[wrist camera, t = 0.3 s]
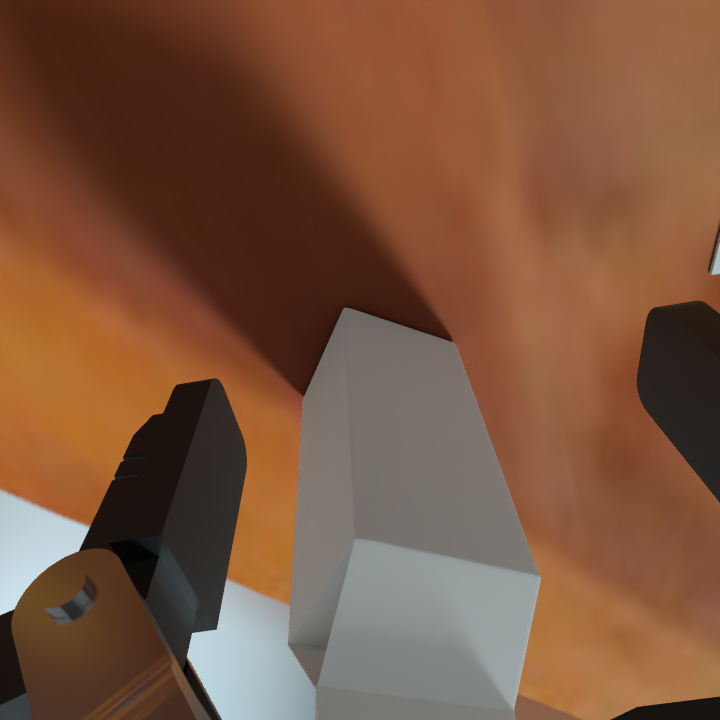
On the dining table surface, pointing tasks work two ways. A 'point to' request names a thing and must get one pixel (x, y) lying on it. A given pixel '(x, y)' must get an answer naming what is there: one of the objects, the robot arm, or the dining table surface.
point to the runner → (716, 259)
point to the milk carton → (405, 537)
